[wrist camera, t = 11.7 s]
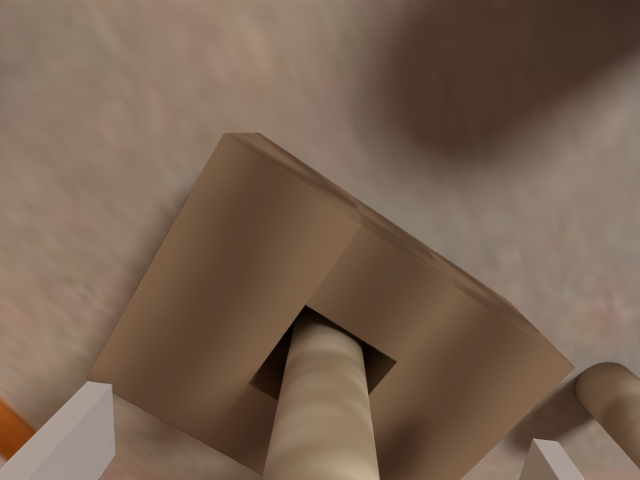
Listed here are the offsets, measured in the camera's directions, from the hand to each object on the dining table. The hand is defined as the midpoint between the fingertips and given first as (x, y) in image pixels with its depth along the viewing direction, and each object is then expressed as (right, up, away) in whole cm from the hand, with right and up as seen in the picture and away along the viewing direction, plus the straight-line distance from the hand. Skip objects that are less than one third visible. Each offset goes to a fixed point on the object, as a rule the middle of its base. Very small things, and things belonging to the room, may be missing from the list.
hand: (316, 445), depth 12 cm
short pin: (+17, -2, +10) cm, 19 cm away
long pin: (+1, +3, +9) cm, 10 cm away
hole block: (0, +3, +9) cm, 10 cm away
